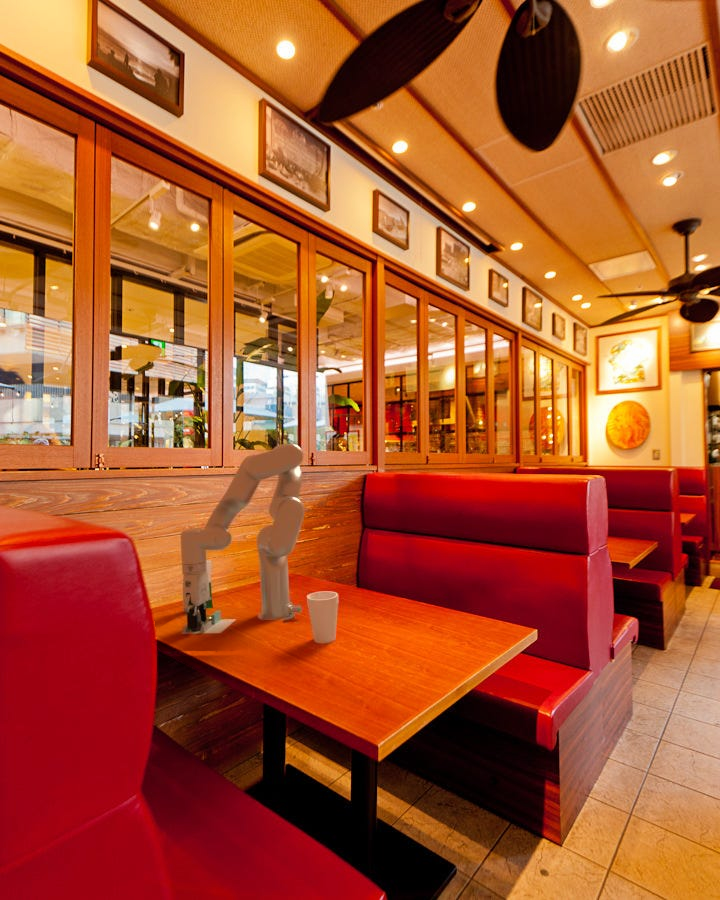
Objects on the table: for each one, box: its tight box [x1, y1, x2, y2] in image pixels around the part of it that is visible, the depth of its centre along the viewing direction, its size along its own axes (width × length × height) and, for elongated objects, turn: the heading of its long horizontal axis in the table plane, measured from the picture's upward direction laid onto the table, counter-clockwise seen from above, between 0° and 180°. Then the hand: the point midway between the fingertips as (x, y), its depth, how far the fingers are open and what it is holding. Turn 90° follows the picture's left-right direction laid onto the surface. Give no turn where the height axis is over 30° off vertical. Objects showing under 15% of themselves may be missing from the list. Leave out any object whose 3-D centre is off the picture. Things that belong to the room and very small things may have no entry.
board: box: [180, 610, 236, 635], centre depth 161 cm, size 13×13×4 cm
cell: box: [190, 606, 202, 632], centre depth 158 cm, size 4×4×8 cm
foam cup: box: [306, 590, 340, 644], centre depth 147 cm, size 10×9×13 cm
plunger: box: [205, 614, 212, 622], centre depth 166 cm, size 4×4×1 cm
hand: (197, 624), depth 158 cm, fingers open, 5 cm apart
